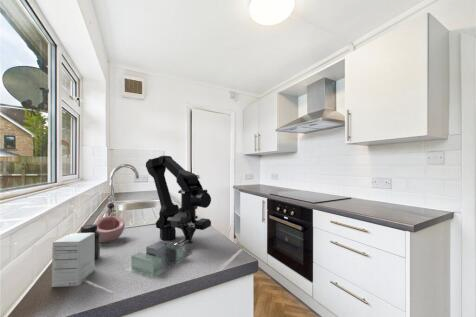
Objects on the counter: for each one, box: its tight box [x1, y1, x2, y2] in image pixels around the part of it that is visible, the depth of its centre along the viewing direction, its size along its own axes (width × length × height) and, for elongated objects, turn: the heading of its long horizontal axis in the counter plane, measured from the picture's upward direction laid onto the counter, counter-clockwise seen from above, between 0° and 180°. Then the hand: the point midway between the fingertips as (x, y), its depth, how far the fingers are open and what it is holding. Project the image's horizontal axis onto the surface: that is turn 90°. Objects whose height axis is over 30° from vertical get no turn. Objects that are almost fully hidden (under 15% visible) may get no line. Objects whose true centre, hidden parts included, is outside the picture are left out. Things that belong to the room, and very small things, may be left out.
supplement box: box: [51, 232, 95, 288], centre depth 60 cm, size 7×7×13 cm
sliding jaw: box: [169, 238, 194, 261], centre depth 76 cm, size 10×12×4 cm
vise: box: [124, 248, 195, 280], centre depth 70 cm, size 12×20×5 cm, turn 154°
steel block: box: [145, 240, 171, 265], centre depth 68 cm, size 4×6×6 cm
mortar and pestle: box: [93, 215, 126, 243], centre depth 89 cm, size 12×12×12 cm
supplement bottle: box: [79, 223, 101, 262], centre depth 72 cm, size 7×7×12 cm
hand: (188, 242), depth 82 cm, fingers closed, pressing on sliding jaw
